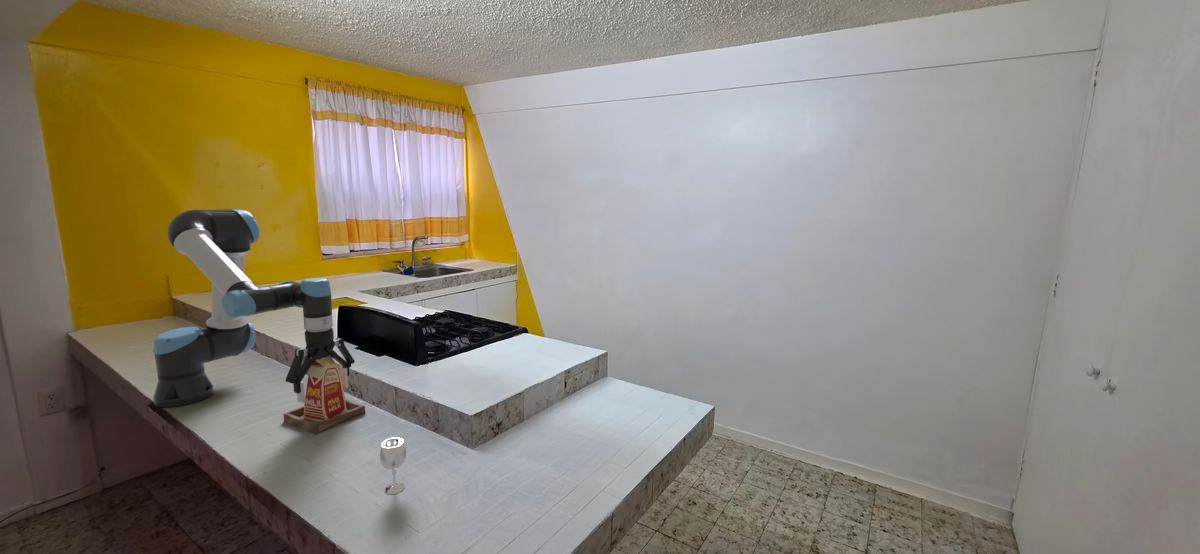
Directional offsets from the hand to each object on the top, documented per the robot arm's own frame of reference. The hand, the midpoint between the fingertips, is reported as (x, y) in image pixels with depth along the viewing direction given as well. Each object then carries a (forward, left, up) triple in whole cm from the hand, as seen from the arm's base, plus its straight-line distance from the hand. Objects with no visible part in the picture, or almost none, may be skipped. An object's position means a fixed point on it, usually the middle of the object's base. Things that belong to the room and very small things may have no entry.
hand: (323, 394), depth 143 cm
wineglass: (+49, -14, -8) cm, 52 cm away
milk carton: (0, 0, -7) cm, 7 cm away
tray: (0, 0, -8) cm, 8 cm away
